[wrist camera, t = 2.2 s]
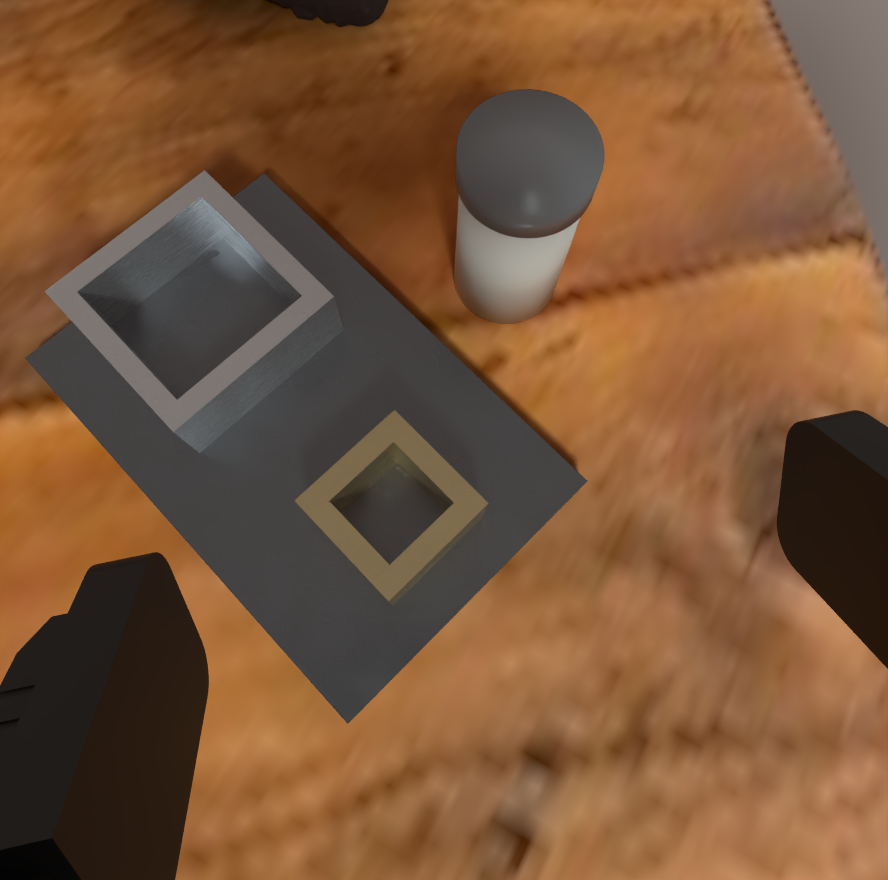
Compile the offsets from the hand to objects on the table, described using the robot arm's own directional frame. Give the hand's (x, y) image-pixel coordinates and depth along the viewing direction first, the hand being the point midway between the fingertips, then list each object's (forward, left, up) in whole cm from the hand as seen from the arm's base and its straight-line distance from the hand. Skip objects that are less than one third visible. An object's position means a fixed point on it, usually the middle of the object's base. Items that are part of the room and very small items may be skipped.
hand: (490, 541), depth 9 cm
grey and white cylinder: (-10, +14, -24) cm, 30 cm away
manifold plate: (-11, +1, -24) cm, 27 cm away
